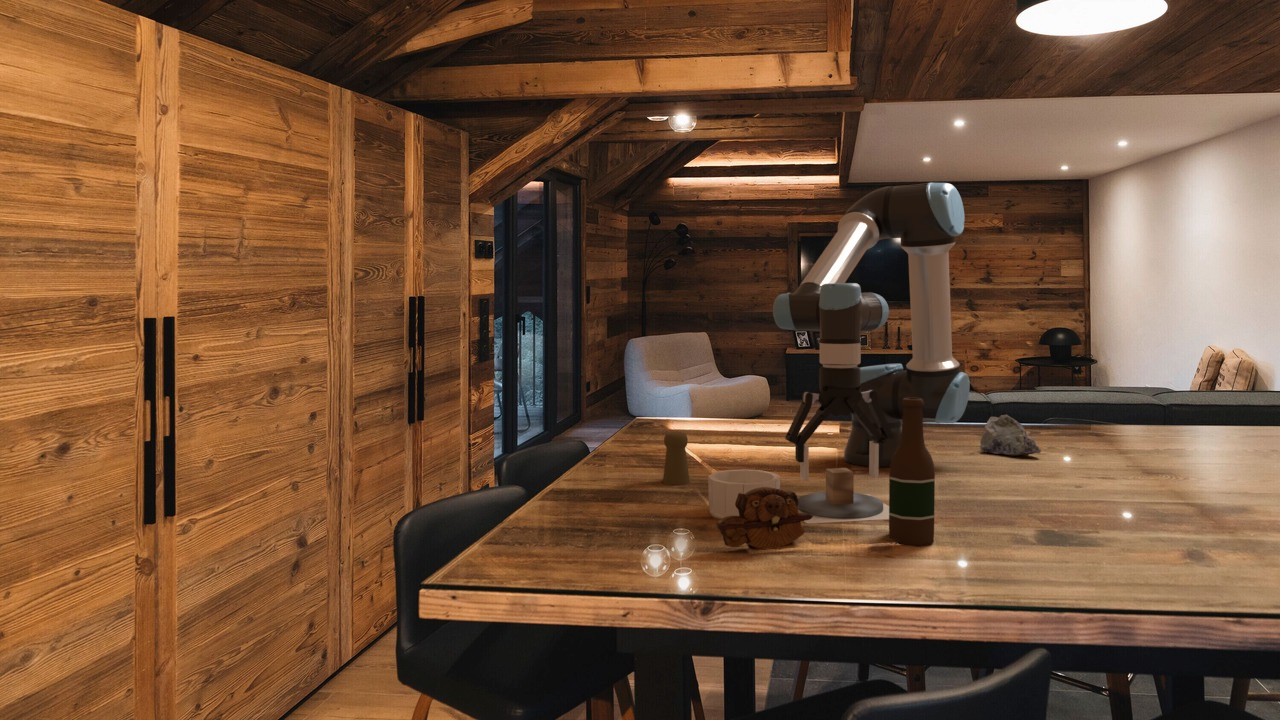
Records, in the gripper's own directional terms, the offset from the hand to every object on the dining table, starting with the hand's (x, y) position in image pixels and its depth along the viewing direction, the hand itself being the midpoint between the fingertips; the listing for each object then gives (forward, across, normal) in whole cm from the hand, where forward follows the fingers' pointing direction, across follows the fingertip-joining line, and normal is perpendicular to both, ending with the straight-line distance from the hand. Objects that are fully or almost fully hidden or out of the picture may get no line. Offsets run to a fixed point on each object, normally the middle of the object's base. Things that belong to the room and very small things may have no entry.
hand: (839, 477), depth 174 cm
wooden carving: (+7, +20, +21) cm, 30 cm away
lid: (+6, 0, 0) cm, 6 cm away
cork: (+7, +26, -31) cm, 41 cm away
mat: (+6, 0, 0) cm, 6 cm away
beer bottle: (+7, -5, +21) cm, 22 cm away
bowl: (+7, +18, -2) cm, 19 cm away
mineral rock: (+6, -59, -44) cm, 74 cm away
